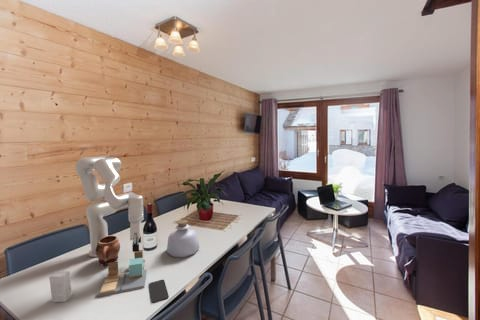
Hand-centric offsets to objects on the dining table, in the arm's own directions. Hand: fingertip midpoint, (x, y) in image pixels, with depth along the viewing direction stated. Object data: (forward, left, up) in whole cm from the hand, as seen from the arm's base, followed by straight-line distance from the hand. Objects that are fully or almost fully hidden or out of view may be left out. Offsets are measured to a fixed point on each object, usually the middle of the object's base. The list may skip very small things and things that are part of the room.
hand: (136, 246), depth 128 cm
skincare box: (+19, -29, -11) cm, 37 cm away
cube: (+11, +1, -9) cm, 14 cm away
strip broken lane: (+12, -10, -9) cm, 18 cm away
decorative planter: (-8, -16, -11) cm, 21 cm away
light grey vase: (-9, +26, -11) cm, 29 cm away
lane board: (+15, -5, -11) cm, 19 cm away
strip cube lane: (+7, +1, -9) cm, 12 cm away
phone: (+27, +12, -11) cm, 31 cm away
